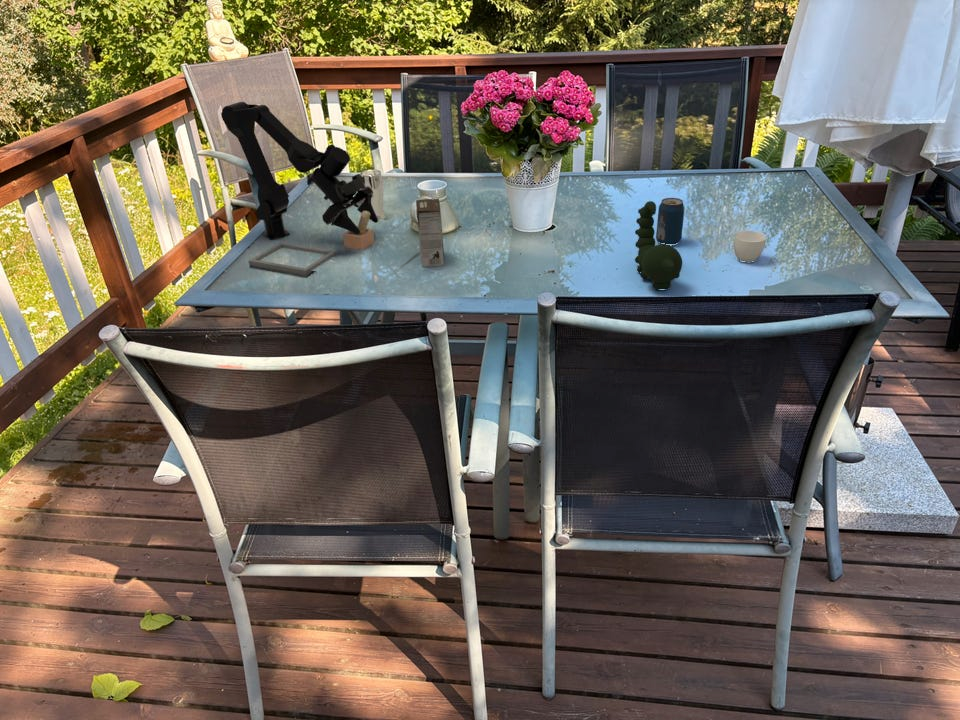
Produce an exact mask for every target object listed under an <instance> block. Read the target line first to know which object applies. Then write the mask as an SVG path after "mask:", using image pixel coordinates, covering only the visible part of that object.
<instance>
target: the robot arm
mask: <svg viewBox="0 0 960 720" xmlns="http://www.w3.org/2000/svg"><path fill="white" fill-rule="evenodd" d="M220 115H221V120H222V122H223V123H224V125H225V127H226V128H227V130H228V132H230V133H231V134H233V136H235V137H236V138H237V139H238V142H239V144H240V147H241V149H242V151H243V153H244V156H245V158H246V160H247V163H248V165H249V168H250V170H251V173H252V174H253V177H254V179H255V182H256V183H257V186H258V187H257V195H256V196H257V199H258V203H259V205H258V206H257V208H256V210H255V211H254V215H255V217H256V219H257V220H258V221H259V220H260V221H263V224H264V228H265V229H264V230H265V231H264V232H262V235H263V236H264V237H266V238H267V239H269V240H270V241H271V240H275V239H278V238H282V237H286V236H288V235H289V236H290V232H289V231H287V230H286V229H285V223H284V218H283V215H282V214H284V213H287V212H288V206H289V204H290V199H289V198H290V195H289V194H288V192H287V190H286V186H285V184H283V183H282V184H280V183H278V182H277V181H276V180H275V178H274V177H273V174H272V172H271V169H270V167H269V165H268V162H267V160H266V158H265V155H264V153H263V150H262V148H261V146H260V143H259V141H258V138H257V136H256V134H255V128H256V124H257V125H259V127H260V128H261V129H263V131H265V133H266V134H267V135H268V136H269V137H271V138H272V139H273V141H274V142H276V143H277V144H278V146H279V147H281V148H282V149H283V150H284V152H285V153H286V154H287V159H288V161H289V162H290V163H291V165H292V166H293V168H295V170H296V171H297V172H298V173H301V174H302V173H303V174H304V173H307V172H308V173H309V172H310V173H309V174H307V175H306V179H307V180H306V183H307V185H308V186H310V185H311V186H312V185H313V184H315V185H316V187H317V188H318V189H319V190H320V191H321V192H322V193H323V195H324V197H323V199H324V200H325V201H328V200H329V201H330V202H331V203H332V204H331V205H329V206H328V207H327V209H326V210H325V212H323V214H322V215H321V217H322V221H323V222H324V223H325V224H326V226H328V225H330V226H332V227H333V226H336V227H338V228H341V229H344V230H347V231H351V232H353V233H356V234H359V233H360V230H359V229H358V226H357V225H356V224H355V222H354V221H353V220H352V219H351V218H350V216H349V213H348V209H350V208H352V207H355V208H357V209H356V210H357V211H358V212H360V213H361V214H362V211H368V212H370V218H369V221H371V222H373V223H375V224H378V222H379V219H377V216H376V214H375V212H374V210H373V207H372V204H371V198H372V194H373V191H372V190H371V189H370V188H369V187H365V186H364V184H365V179H364V178H363V177H362V176H361V175H360V173H356V174H355V175H353V176H352V177H351V178H352V179H351V181H349V182H346V180H343V179H341V180H340V179H338V177H339V176H340V175H341V173H342V172H343V171H344V169H345V168H346V167H347V165H348V164H349V163H350V161H351V157H350V154H349V153H348V152H347V150H344V149H343V148H341V147H338V146H335V144H333V143H332V144H329V145H328V146H327V147H326V148H325V151H324V152H323V151H322V152H321V151H319V150H318V149H316V148H315V147H314V146H313V145H311V144H310V143H308V142H306V141H303V140H301V139H299V138H298V137H297V136H296V135H295V134H293V132H292V131H291V130H290V129H288V127H286V126H285V125H284V124H283V122H281V121H280V119H278V118H277V117H276V116H275V115H274V114H273V113H272V112H271V110H270V108H269V107H268V106H267V105H265V104H256V103H255V104H254V103H253V104H251V103H250V104H249V103H246V102H245V101H238V102H235V103H231V104H229V105H228V104H227V105H226V106H224V107H222V111H221V113H220ZM312 170H313V172H312V173H311V171H312ZM361 188H362V189H361Z"/></svg>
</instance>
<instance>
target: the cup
mask: <svg viewBox="0 0 960 720" xmlns="http://www.w3.org/2000/svg"><path fill="white" fill-rule="evenodd" d="M766 240H767V235H766V234H765V233H762V232H759V231H755V230H741V231H738V232H735V234H734V239H733V251H734V254H735V256H736V258H737V260H738V259H739V260H741V261H745V262H752V261H754V262H755V260H756V261H757V260H758V259H759V258H760V256H761V255H762V253H763V251H764V249H765V246H766V242H767V241H766ZM739 260H738V261H739Z"/></svg>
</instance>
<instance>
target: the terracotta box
mask: <svg viewBox="0 0 960 720" xmlns="http://www.w3.org/2000/svg"><path fill="white" fill-rule="evenodd" d="M342 237H343V244H344V248H347V249H355V250H361V251H363V250H365V249H366V248H368V247H369V246H371V245H373V244H374V243H375V236H374V229H373V228H366V231H365V233H363V234H362V235H360V236H359V235H356V233H353V232H351V231H349V230H347V231H346V232H344V233H343V234H342Z"/></svg>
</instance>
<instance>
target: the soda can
mask: <svg viewBox="0 0 960 720" xmlns="http://www.w3.org/2000/svg"><path fill="white" fill-rule="evenodd" d="M684 217H685V204H684V200H682V199H680V198H678V197H667V198H666V197H665V198H663V199H661V203H660V204H659V205H658V213H657V221H656V222H657V223H656V235H655V240H656V241H657V242H660V243H665V244H676V243H678V242H679V243H680V242H681V240H682V235H683V228H684V227H683V226H684V220H685V218H684ZM679 243H678V244H679Z"/></svg>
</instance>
